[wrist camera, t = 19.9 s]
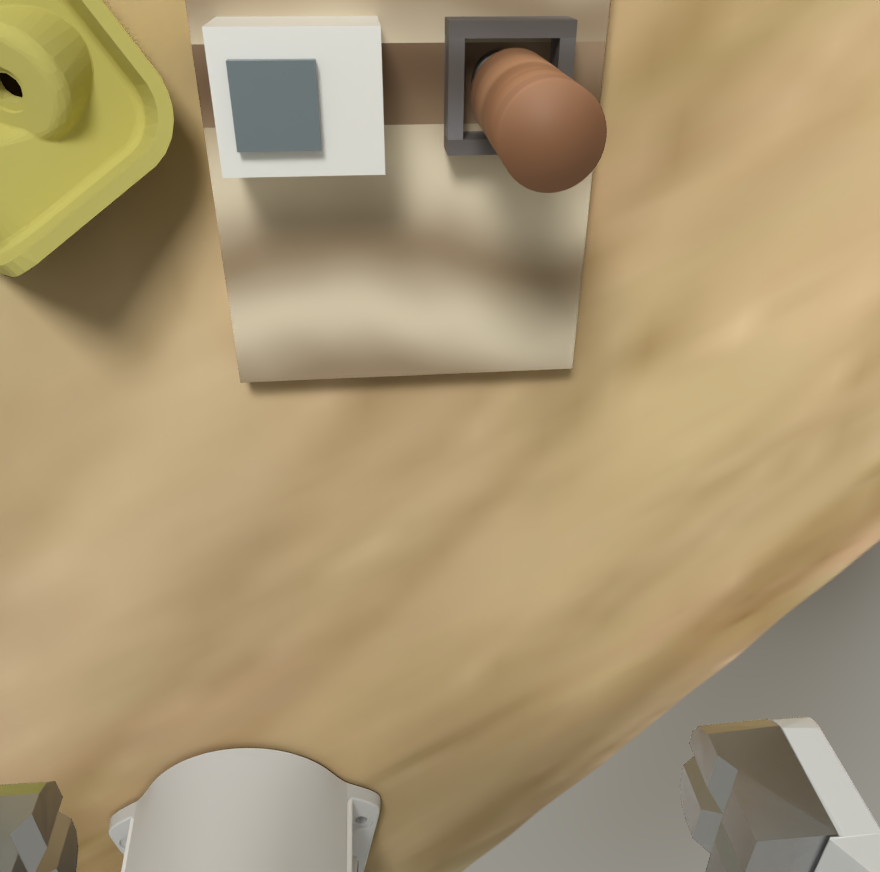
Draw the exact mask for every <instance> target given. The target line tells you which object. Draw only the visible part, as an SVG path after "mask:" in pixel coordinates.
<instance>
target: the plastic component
mask: <svg viewBox="0 0 880 872" xmlns="http://www.w3.org/2000/svg"><path fill="white" fill-rule="evenodd" d="M0 73H7V74H8V75H10V76H11V77H12V78H14V79H15V80H16V81H17V82H18V84H19V85H20V87H21V89H22V94H23V96H22V97H19V96H15V95H13V94H11V93H10V92H9V91H7V90H6V89H5V87H4V86H3V84H2V82H1V81H0V274H4V275H8V276H11V277H17V276H19V275H21V274H23V273H24V272H26V271H28V270H29V269H31V268H32V267H33V266H35V265H36V264H38V263H39V262H40V261H41V260H43V259H44V258H45V257H46V256H47V255H49V254H50V253H51V252H52V251H53V250H55V249H56V248H57V247H58V246H60V245H61V244H62V243H63V242H64V241H66V240H67V239H68V238H69V237H70V236H72V235H73V234H74V233H75V232H77V231H78V230H79V229H80V228H81V227H83V226H84V225H85V224H86V223H87V222H89V221H90V220H91V219H92V218H94V217H95V216H96V215H97V214H98V213H100V212H101V211H102V210H103V209H104V208H106V207H107V206H108V205H109V204H111V203H112V202H113V201H114V200H115V199H117V198H118V197H119V196H120V195H121V194H123V193H124V192H125V191H126V190H128V189H129V188H130V187H131V186H132V185H134V184H135V183H136V182H137V181H138V180H140V179H141V178H142V177H143V176H145V175H146V174H147V173H148V172H149V171H151V170H152V169H153V168H154V167H155V166H157V164H158V163H159V162H160V160H161V159H162V158H163V156H164V155H165V154H166V151H167V149H168V146H169V144H170V141H171V139H172V133H173V125H174V116H173V107H172V102H171V99H170V96H169V92H168V90H167V88H166V86H165V84H164V82H163V80H162V78H161V76H160V75H159V74H158V72H157V71H156V70H155V68H154V67H153V66H152V64H151V63H150V62H149V61H148V59H147V58H146V57H145V55H144V54H143V53H142V51H141V50H140V49H139V48H138V46H137V45H136V44H135V42H134V41H133V40H132V38H131V37H130V36H129V35H128V33H127V32H126V31H125V29H124V28H123V27H122V25H121V24H120V23H119V22H118V20H117V19H116V18H115V16H114V15H113V14H112V12H111V11H110V10H109V8H108V7H107V6H106V5H105V3H104V2H103V1H102V0H0Z"/></svg>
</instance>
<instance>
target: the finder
mask: <svg viewBox="0 0 880 872" xmlns="http://www.w3.org/2000/svg"><path fill="white" fill-rule="evenodd" d="M202 31H203V39H204V46H205V53H206V61H207V68H208V75H209V83H210V90H211V97H212V105H213V112H214V119H215V126H216V134H217V141H218V148H219V156H220V163H221V170H222V178H249V177H297V176H346V175H385V147H384V114H383V81H382V48H381V25H380V22H379V19H378V16H264V17H215V18H213V19H212V20H211V21H209V22H208V23H206V24H205V25H204V26H202Z"/></svg>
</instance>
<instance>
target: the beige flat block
mask: <svg viewBox="0 0 880 872" xmlns="http://www.w3.org/2000/svg"><path fill="white" fill-rule="evenodd" d="M185 3H186V10H187V17H188V24H189V31H190V38H191V45H192V52H193V59H194V65H195V72H196V79H197V86H198V93H199V100H200V107H201V114H202V121H203V128H204V134H205V141H206V148H207V155H208V162H209V169H210V176H211V183H212V190H213V197H214V204H215V210H216V217H217V224H218V231H219V238H220V245H221V252H222V259H223V266H224V273H225V279H226V286H227V293H228V300H229V307H230V314H231V321H232V328H233V335H234V342H235V349H236V355H237V362H238V369H239V376H240V383H244V382H267V381H291V380H314V379H338V378H361V377H385V376H408V375H432V374H455V373H479V372H503V371H526V370H550V369H572V365H573V355H574V345H575V336H576V326H577V316H578V307H579V297H580V288H581V278H582V268H583V259H584V249H585V239H586V230H587V220H588V211H589V201H590V191H591V182H592V172H593V171H592V172H591V173H590V174H589V175H588V176H587V177H586V178H585V179H584V180H583V181H581V182H580V183H578V184H577V185H575V186H573V187H571V188H569V189H567V190H564V191H560V192H555V193H541V192H536V191H532V190H530V189H527V188H525V187H524V186H522V185H521V184H519V183H518V182H517V181H516V180H515V179H514V178H513V177H512V176H511V175H510V174H509V172H508V171H507V169H506V167H505V166H504V164H503V163H502V161H501V159H500V158H499V156H498V154H497V153H496V151H495V150H494V148H493V146H492V145H491V143H490V142H489V140H488V138H487V137H486V135H485V134H484V132H483V130H482V129H481V127H480V126H479V124H478V122H477V121H476V119H475V117H474V115H473V111H472V108H471V101H470V93H471V77H472V73H473V70H474V67H475V65H476V64H477V62H478V61H479V60H480V59H481V58H482V57H483V56H484V55H485V54H486V53H488V52H490V51H492V50H496V49H508V48H524V49H528V50H531V51H533V52H535V53H537V54H538V55H540V56H541V57H542V58H544V59H545V60H546V61H548V62H549V63H551V64H552V65H553V66H555V67H556V68H558V69H559V70H560V71H562V72H563V73H564V74H566V75H567V76H569V77H570V78H571V79H573V80H574V81H576V82H577V83H578V84H580V85H581V86H582V87H584V88H585V89H586V90H588V91H589V92H590V93H591V94H592V95H593V96H594V97H595V98H596V100H597V101H598V102H599V104H600V95H601V85H602V76H603V66H604V57H605V47H606V37H607V28H608V18H609V8H610V0H185ZM264 16H378V19H379V22H380V25H381V48H382V81H383V114H384V147H385V175H346V176H297V177H249V178H222V170H221V163H220V156H219V148H218V141H217V134H216V126H215V119H214V112H213V105H212V97H211V90H210V83H209V75H208V68H207V61H206V53H205V46H204V39H203V31H202V26H204V25H205V24H206V23H208V22H209V21H211V20H212V19H213V18H215V17H264Z"/></svg>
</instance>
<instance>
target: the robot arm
mask: <svg viewBox="0 0 880 872" xmlns="http://www.w3.org/2000/svg"><path fill="white" fill-rule="evenodd" d="M689 744H690V747H691V749H692V752H693V754H694V757H692V758H691V759H690V760H689V761H687V762H686V763H685V764H684V765H683V770H682V774H681V779H680V788H681V802H682V806H683V811H684V815H685V819H686V822H687V824H688V827H689V830H690V833H691V835H692V838H693V839H694V840H695V841H696V842H697V843H699V844H700V845H701V846H702V847H703V848H704V849H706V850H707V851H708V852H709V853H710V858H709V861H708V865H707V868H706V872H880V827H879V825H878V824H877V822H876V820H875V819H874V817H873V815H872V814H871V812H870V810H869V809H868V807H867V805H866V804H865V802H864V800H863V799H862V797H861V796H860V794H859V792H858V790H857V789H856V787H855V786H854V784H853V782H852V781H851V779H850V777H849V775H848V774H847V772H846V771H845V769H844V767H843V766H842V764H841V762H840V761H839V759H838V757H837V755H836V754H835V752H834V751H833V749H832V747H831V746H830V744H829V742H828V741H827V739H826V737H825V736H824V734H823V732H822V731H821V729H820V727H819V726H818V724H817V723H816V722H815V721H813V720H812V719H811V718H810V717H795V718H786V719H776V720H768V719H762V720H752V721H742V722H733V723H723V724H713V725H703V726H698V727H697V728H696V729H695V730H693V732H692V735H691V739H690V742H689ZM62 798H63V796H62V794H61V792H60V790H59V788H58V786H57V784H56V782H55V781H47V782H33V783H18V784H4V785H0V872H76V867H77V857H78V841H77V832H76V829H75V826H74V823H73V821H72V818H70V817H68V816H66V815H65V814H63V813H61V812H59V808H60V805H61V801H62ZM380 802H381V799H380V796H379V795H378V794H377V793H375V792H373V791H371V790H369V789H366V788H363V787H359V786H356V785H352V784H349V783H346V782H344V781H342V780H341V779H339V778H338V777H337V776H335V775H334V774H333V773H331V772H330V771H329V770H327V769H326V768H324V767H323V766H321V765H319V764H318V763H316V762H314V761H311V760H309V759H307V758H304V757H301V756H298V755H295V754H292V753H288V752H283V751H278V750H271V749H261V748H236V749H226V750H219V751H214V752H209V753H205V754H201V755H198V756H195V757H192V758H189V759H187V760H185V761H182V762H180V763H178V764H176V765H174V766H173V767H171V768H169V769H168V770H166V771H165V772H164V773H162V774H161V775H160V776H159V777H158V778H157V779H156V780H155V781H154V782H153V783H152V784H151V785H150V787H149V788H148V789H147V791H146V792H145V793H144V795H143V796H142V797H141V798H140V799H139V800H138V801H136V802H134V803H132V804H130V805H128V806H126V807H125V808H123V809H121V810H119V811H118V812H116V813H115V814H114V815H113V816H112V817H111V819H110V825H109V836H110V838H111V839H112V840H113V842H114V843H115V844H116V846H117V847H118V848H119V850H120V851H121V852H122V854H123V855H124V859H123V865H122V870H121V872H364V870H365V866H366V862H367V859H368V855H369V851H370V847H371V844H372V840H373V836H374V832H375V829H376V825H377V821H378V817H379V813H380Z"/></svg>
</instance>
